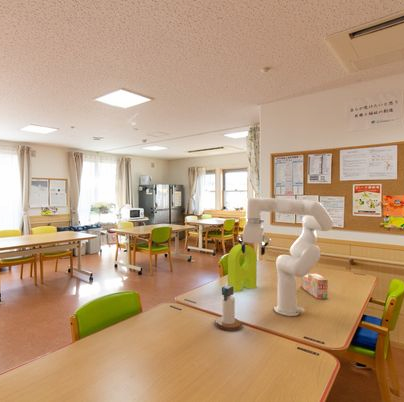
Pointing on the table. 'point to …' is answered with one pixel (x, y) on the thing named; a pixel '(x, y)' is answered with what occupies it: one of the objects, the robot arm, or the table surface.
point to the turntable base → (228, 328)
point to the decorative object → (242, 268)
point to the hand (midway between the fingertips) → (253, 253)
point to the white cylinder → (228, 309)
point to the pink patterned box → (315, 285)
